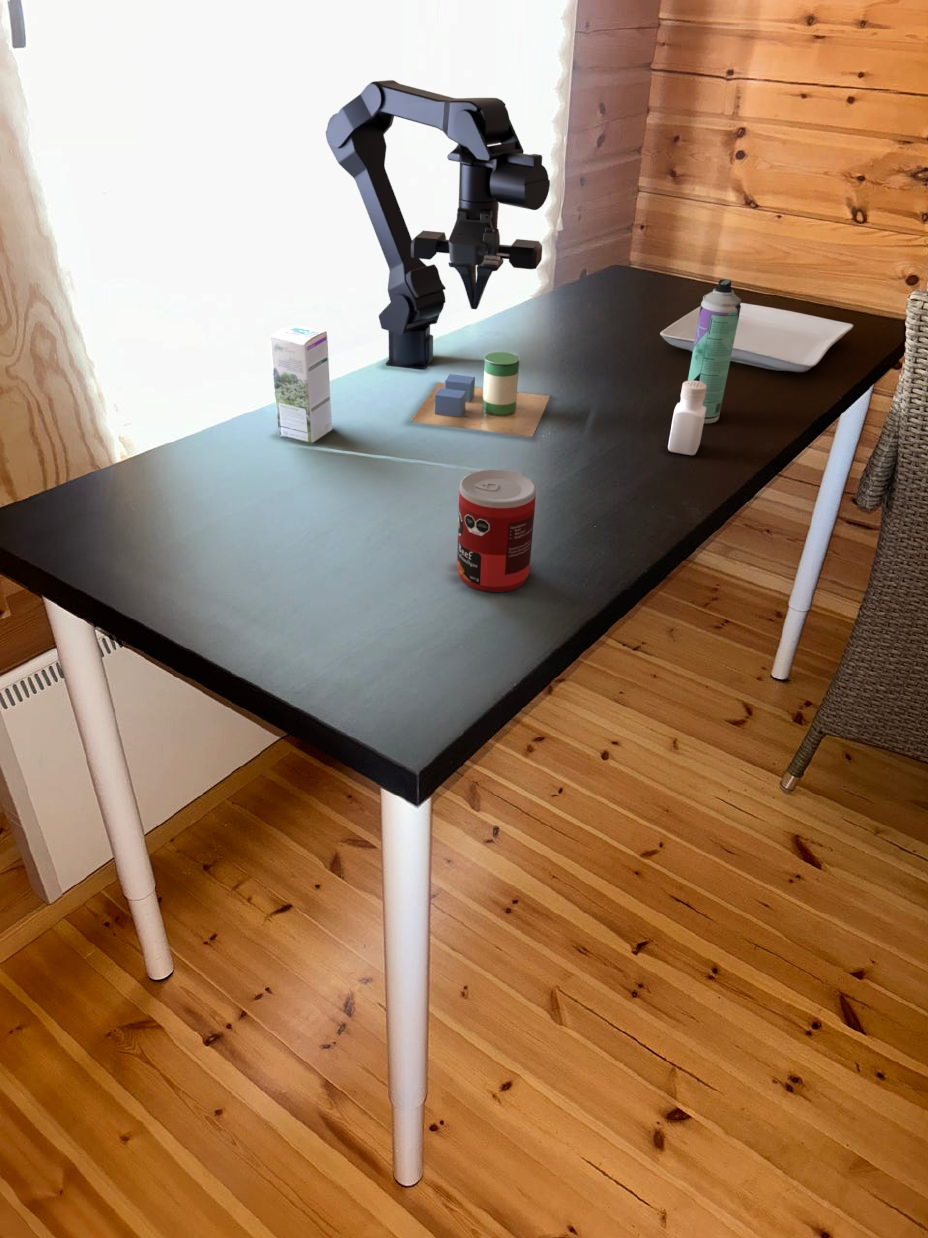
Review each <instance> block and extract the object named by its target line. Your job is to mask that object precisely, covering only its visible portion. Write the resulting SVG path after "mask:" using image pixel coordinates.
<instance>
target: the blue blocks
mask: <svg viewBox="0 0 928 1238" xmlns="http://www.w3.org/2000/svg"><path fill="white" fill-rule="evenodd" d="M444 384H445V388H440V389H439V390H438V392H437V393H436V394H435V414H437V415H445V416H453V417H461V416H462V415H463V413H464V411H465V407H466V402H471V400H472V398H473V397H474V390H475V387H476V377H475V376H472V375H471V376H469V375H462V374H461V375H460V374H453V373H449V374H448V376H447V377H446V379H445V380H444Z"/></svg>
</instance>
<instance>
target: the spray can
mask: <svg viewBox="0 0 928 1238" xmlns="http://www.w3.org/2000/svg"><path fill="white" fill-rule="evenodd" d="M740 303H742V299H741V298H740V297H738V296H737V295H736V294H735V291H734V290H733V288H732V280H730V279H726V278H725V279H719V280H718V284H717V286H715V288H713V290H712V291H710V292H709V293H706V294H704V295H703V296H702V301H701V303H700V306H701V308H700V314H699V320H698V325H697V331H696V337H695V342H694V348H693V352H692V355H691V361H690V365H689V366H690V367H689V371H688V372H689V373H688V376H687V381H690V380H691V381H699V382H702V383H704V384H706V387H707V388H706V392H705V398H704V400H703V406H704V407H706V413H705V419H704V424H713V423H716V422H717V421H719V418H720V414H721V410H722V404H723V399H724V396H725V395H724V394H725V389H726V383H727V380H728V374H729V370H730V369H729V368H730V364H731V361H730V359H731V354H732V349H733V344H734V339H735V334H736V329H737V324H738V319H739V314H740V309H741V305H740Z"/></svg>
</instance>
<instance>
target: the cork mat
mask: <svg viewBox="0 0 928 1238" xmlns="http://www.w3.org/2000/svg"><path fill="white" fill-rule="evenodd" d="M440 388H445V382H437V384H436V385H435V386H434V388H433V389H432V390H431V392H430V393H429V395H428V396H427V397H426V399H425V400H424V402H423V403H422V404H421V405H420V407H419V408H418V410H417V411H416V413H415V414H414V416H412V418H411V420H410V422H411V423H419V424H426V425H435V426H443V427H450V428H457V429H465V430H474V431H480V432H481V431H482V432H489V433H496V434H506V435H513V436H520V437H527V438H528V437H530V438H533V437H534V435H535V434H536V433H535V432H536V430H537V428H538V427H539V423H540V422H541V420H542V417H543V414H544V412H545V410H546V407H547V405H548V403H549V400H550V398H551V396H550V395H545V394H535V393H528V392H520V391H519V392H518V391H517V400H516V412H515V413H514V414H513V415H510V416H505V417H497V416H491V415H488V414H486V413H484V412H483V410H482V407H483V387H477V386H475V390H474V397H473V398H472V400H471V402H466V407H465V411H464V413H463V415H462V416H461V417H453V416H445V415H437V414H435V394H436V393H437V392H438V390H439V389H440Z"/></svg>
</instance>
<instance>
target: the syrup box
mask: <svg viewBox="0 0 928 1238" xmlns="http://www.w3.org/2000/svg"><path fill="white" fill-rule="evenodd" d="M269 346H270V359H271V367H272V378H273V379H272V381H273V390H274V401H275V412H276V421H277V422H276V423H277V433H278V434H277V435H278V437H280V438H289V439H293V440H297V441H301V442H306V443H310V444H314V443H315V442H316V441H318V440H320V438H322V437H323V436H325V435H327V434H329V432H331V431H332V430H333V416H332V402H331V401H332V400H331V385H330V383H331V382H330V363H329V360H330V359H329V341H328V332H327V331H326V330H321V329H316V328H310V327H305V326H302V325H301V326H300V325H294V324H290V325H287V326H284V327H282V328H280V329H278V330H277V331H275V332H274V333H273V334H271V335H269Z"/></svg>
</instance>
